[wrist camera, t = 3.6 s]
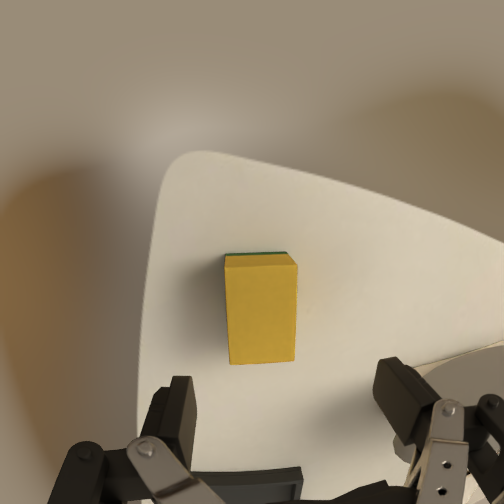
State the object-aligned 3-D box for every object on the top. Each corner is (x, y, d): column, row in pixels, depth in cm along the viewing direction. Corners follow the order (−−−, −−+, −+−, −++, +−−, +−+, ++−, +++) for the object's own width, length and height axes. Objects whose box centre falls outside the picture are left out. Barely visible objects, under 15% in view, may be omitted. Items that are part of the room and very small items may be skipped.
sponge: (285, 335, 24) (294, 361, 20) (229, 338, 23) (229, 365, 19) (286, 251, 22) (297, 264, 18) (225, 253, 22) (224, 267, 18)
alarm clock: (370, 414, 26) (420, 500, 14) (382, 369, 25) (450, 457, 13) (502, 369, 28) (554, 412, 15) (515, 331, 27) (575, 370, 14)
